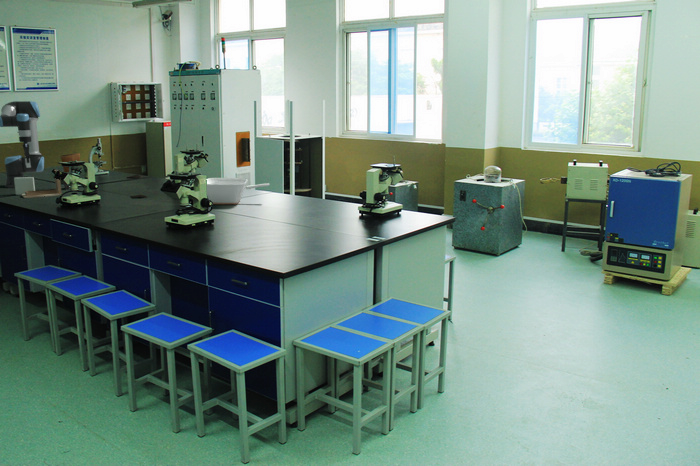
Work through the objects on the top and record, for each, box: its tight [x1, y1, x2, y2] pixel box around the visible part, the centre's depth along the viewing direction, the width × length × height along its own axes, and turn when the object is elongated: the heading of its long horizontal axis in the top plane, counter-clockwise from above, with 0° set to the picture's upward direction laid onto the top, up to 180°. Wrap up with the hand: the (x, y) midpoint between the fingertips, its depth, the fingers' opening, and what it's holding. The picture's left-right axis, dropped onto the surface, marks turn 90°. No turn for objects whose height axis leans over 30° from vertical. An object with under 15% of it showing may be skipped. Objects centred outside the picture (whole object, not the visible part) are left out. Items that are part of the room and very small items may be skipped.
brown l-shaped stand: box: [21, 169, 63, 199], centre depth 426 cm, size 12×24×17 cm, turn 126°
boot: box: [60, 152, 81, 190], centre depth 458 cm, size 25×9×27 cm, turn 134°
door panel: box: [14, 176, 36, 196], centre depth 430 cm, size 3×12×12 cm, turn 105°
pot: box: [205, 177, 270, 205], centre depth 411 cm, size 29×44×15 cm, turn 92°
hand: (28, 166), depth 427 cm, fingers open, 13 cm apart
